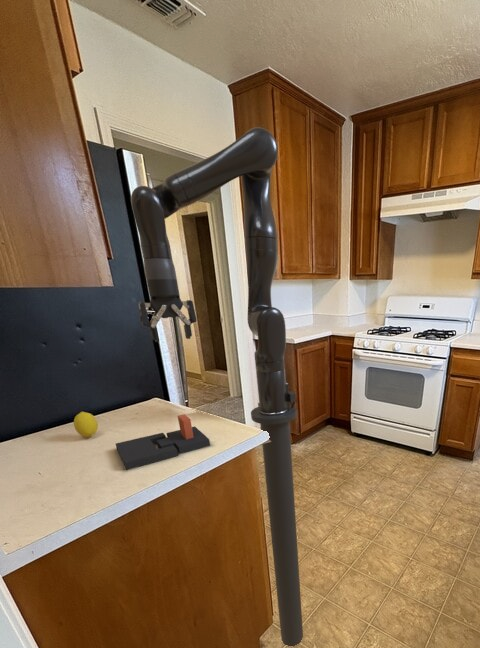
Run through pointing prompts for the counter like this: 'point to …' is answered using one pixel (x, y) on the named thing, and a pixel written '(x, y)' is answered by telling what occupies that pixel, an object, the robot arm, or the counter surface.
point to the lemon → (85, 424)
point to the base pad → (144, 451)
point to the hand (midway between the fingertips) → (173, 340)
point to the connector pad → (184, 437)
